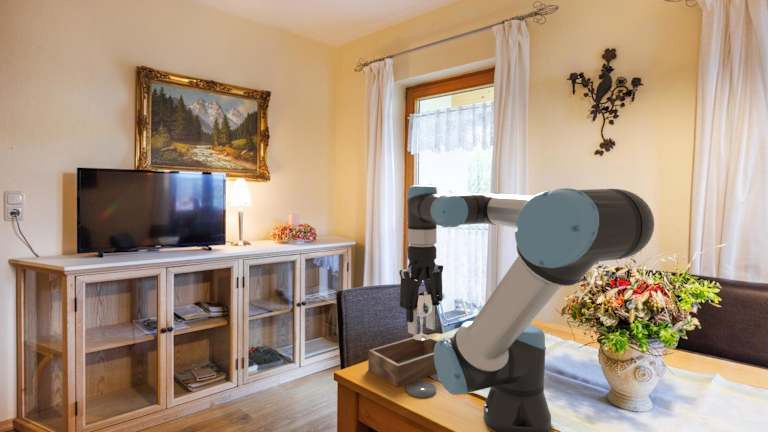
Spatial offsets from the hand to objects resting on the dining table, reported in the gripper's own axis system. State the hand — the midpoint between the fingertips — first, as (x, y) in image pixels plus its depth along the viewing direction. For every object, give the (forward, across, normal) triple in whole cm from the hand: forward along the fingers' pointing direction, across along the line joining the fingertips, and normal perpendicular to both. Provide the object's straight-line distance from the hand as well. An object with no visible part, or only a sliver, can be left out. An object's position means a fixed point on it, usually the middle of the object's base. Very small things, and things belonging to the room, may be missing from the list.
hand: (421, 330), depth 115 cm
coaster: (+16, 0, 0) cm, 16 cm away
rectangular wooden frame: (+16, -7, -12) cm, 22 cm away
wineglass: (+2, 0, 0) cm, 2 cm away
